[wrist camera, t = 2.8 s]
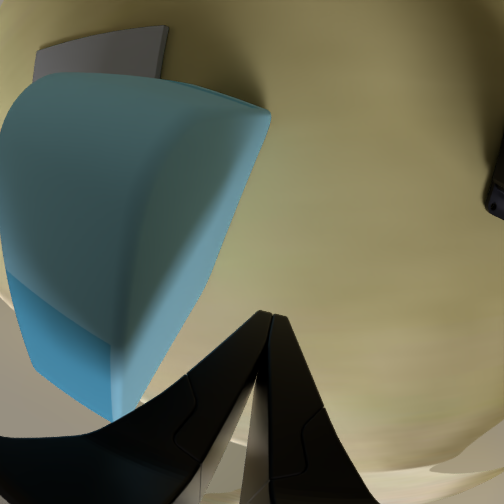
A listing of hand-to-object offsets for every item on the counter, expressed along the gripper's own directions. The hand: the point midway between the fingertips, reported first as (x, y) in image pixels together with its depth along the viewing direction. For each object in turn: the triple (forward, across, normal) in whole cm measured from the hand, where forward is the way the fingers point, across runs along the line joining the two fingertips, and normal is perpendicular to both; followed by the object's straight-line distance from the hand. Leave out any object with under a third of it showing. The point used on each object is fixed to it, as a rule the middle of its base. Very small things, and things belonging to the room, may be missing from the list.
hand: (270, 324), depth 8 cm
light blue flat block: (+9, +5, 0) cm, 11 cm away
